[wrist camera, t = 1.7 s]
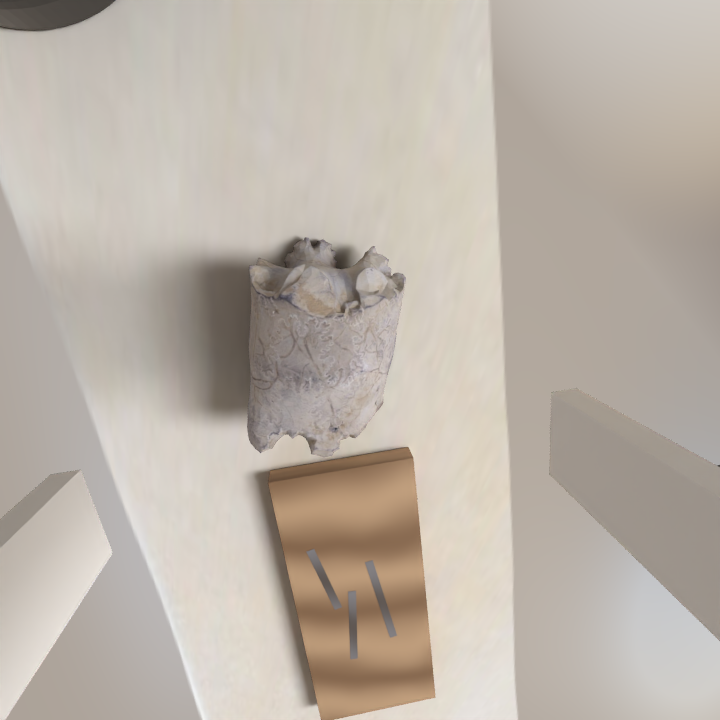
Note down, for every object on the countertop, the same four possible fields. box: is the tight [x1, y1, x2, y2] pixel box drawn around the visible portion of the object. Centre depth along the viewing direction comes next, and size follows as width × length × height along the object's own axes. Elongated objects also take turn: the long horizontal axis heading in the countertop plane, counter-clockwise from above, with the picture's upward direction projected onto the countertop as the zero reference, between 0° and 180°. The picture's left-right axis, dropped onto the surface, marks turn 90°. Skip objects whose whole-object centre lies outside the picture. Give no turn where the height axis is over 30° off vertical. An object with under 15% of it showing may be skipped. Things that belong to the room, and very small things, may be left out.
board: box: [268, 447, 435, 720], centre depth 31 cm, size 24×10×2 cm, turn 7°
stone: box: [247, 237, 406, 457], centre depth 23 cm, size 8×12×7 cm, turn 173°
